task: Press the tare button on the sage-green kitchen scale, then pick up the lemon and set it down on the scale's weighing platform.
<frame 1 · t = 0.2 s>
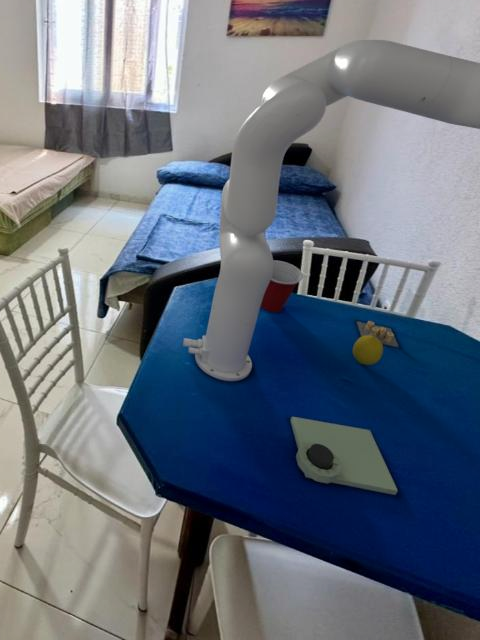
plastic cup: (270, 307, 114), on the table
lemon: (361, 364, 94), on the table
dice set: (376, 334, 104), on the table
tare button: (320, 456, 69), point 3 cm above the table, slide at 0.1 cm
scale: (338, 454, 73), on the table
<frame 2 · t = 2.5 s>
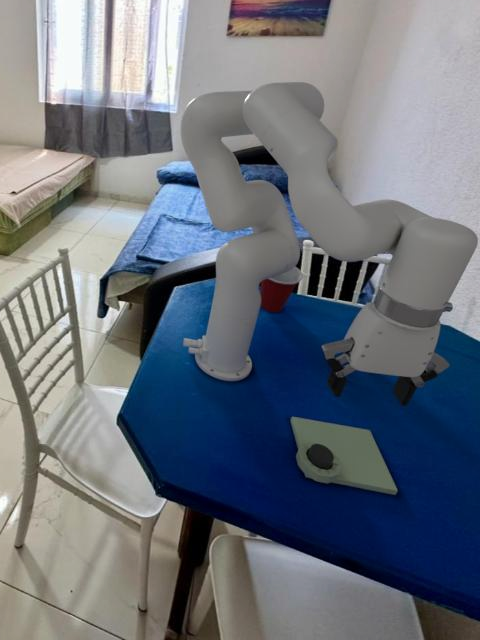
hand: (365, 394, 64), 16 cm above the table, tool pointing down, fingers open, 9 cm apart
nothing on the table moved.
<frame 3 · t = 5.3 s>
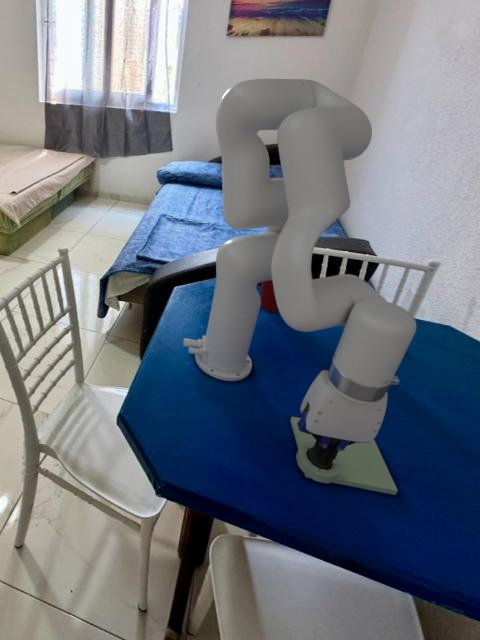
hand: (321, 458, 69), 3 cm above the table, tool pointing down, fingers closed
tare button: (318, 460, 69), point 3 cm above the table, slide at -0.9 cm, touching gripper
everything else where it was.
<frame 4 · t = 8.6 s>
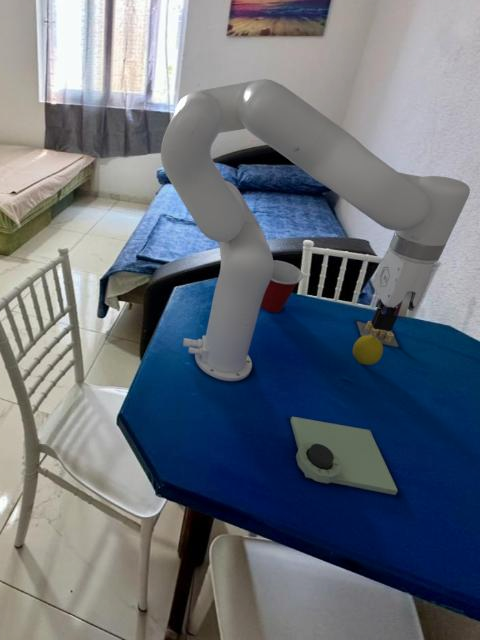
hand: (380, 327, 81), 15 cm above the table, tool pointing down, fingers closed
tare button: (320, 456, 69), point 3 cm above the table, slide at 0.1 cm
everything else where it was.
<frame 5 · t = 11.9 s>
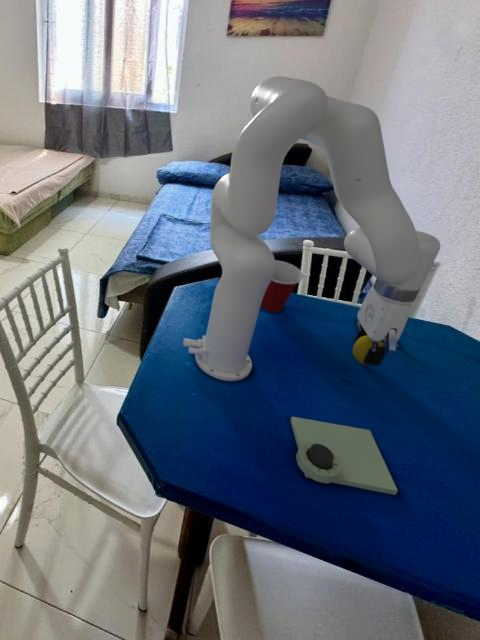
hand: (366, 354, 93), 3 cm above the table, tool pointing down, fingers closed on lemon, 5 cm apart
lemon: (361, 364, 94), on the table, touching gripper
everything else where it was.
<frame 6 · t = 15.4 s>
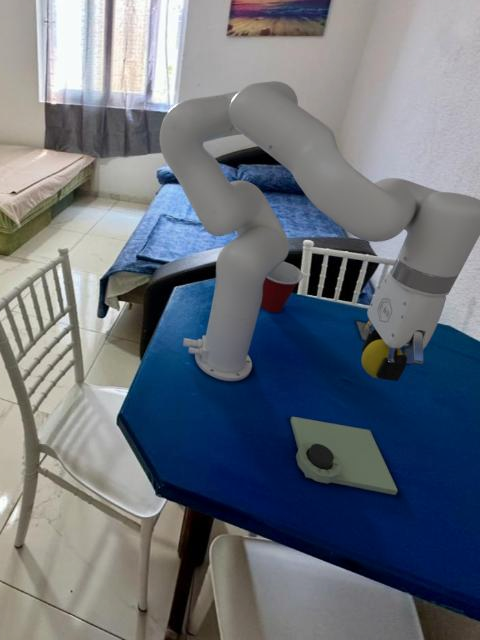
hand: (379, 364, 69), 17 cm above the table, tool pointing down, fingers closed on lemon, 5 cm apart
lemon: (372, 377, 71), point 14 cm above the table, touching gripper
everything else where it was.
when the fingers open (4 cm above the table, at t = 19.2 s): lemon stays where it is, resting on scale.
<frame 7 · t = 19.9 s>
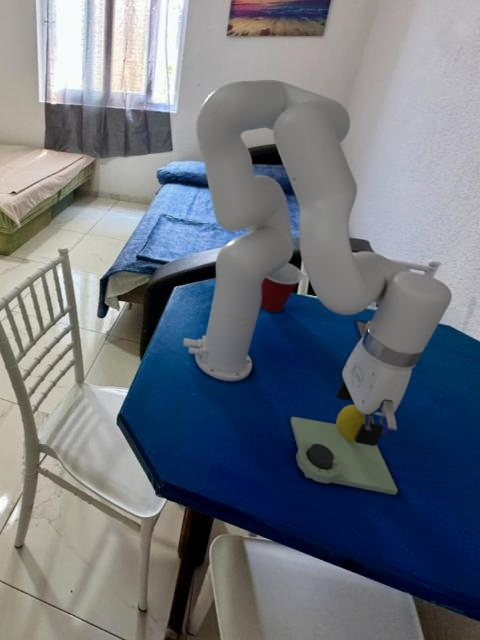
hand: (354, 419, 73), 6 cm above the table, tool pointing down, fingers open, 9 cm apart
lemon: (347, 439, 75), point 1 cm above the table, touching scale
everything else where it was.
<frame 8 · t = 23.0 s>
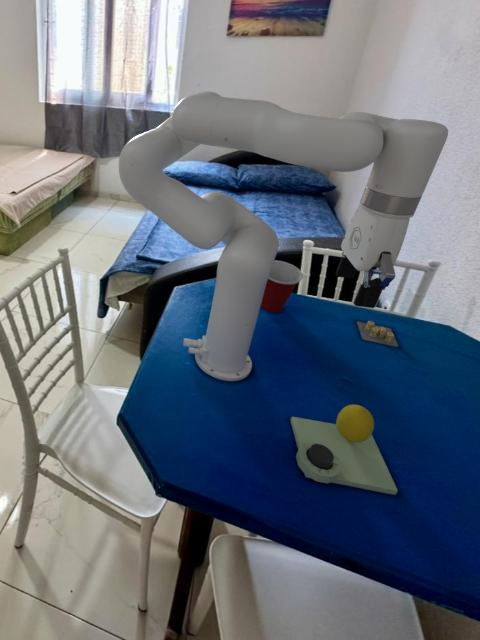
hand: (353, 290, 73), 26 cm above the table, tool pointing down, fingers open, 9 cm apart
nothing on the table moved.
at the end: tare button pushed in 1.1 cm at the most during the clip, back to where it started at the end; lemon inside the target area on the scale (3.7 cm from its centre), point 1.0 cm above the scale's base; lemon touching scale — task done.
